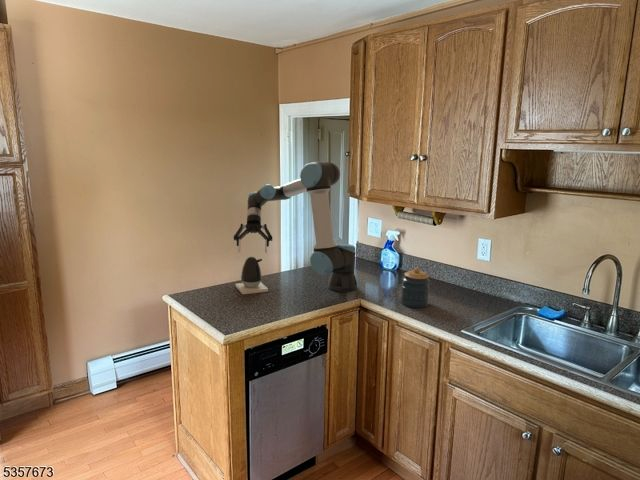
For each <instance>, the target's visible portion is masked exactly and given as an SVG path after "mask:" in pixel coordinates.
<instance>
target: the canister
mask: <svg viewBox="0 0 640 480" xmlns="http://www.w3.org/2000/svg"><path fill="white" fill-rule="evenodd" d="M429 277H430V276H429V274H428V273H426V272H425V271H422V270H421V269H420V268H419V267H414V269H411V270H408V271H406V272H404V276H403V277H402V278H401V280H402V284H401V293H400V303H401V304H402V305H404V306H405V307H408V308H413V309H414V308H416V309H422V308H425V307H428V304H429V296H430V294H429V293H430V286H429V285H430V283H431V280H430V279H429Z"/></svg>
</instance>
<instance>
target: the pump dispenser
mask: <svg viewBox="0 0 640 480" xmlns="http://www.w3.org/2000/svg"><path fill="white" fill-rule="evenodd" d="M262 261H263V259H262V258H259V259H257V258H256V257H254V256H249V257H247V258H246V259H245V262H244V264H243V266H242V270H241V273H240V274H241V275H240V280H241V283H243V284H244V286H246V287H249V288H254V287H257V286H258V285H259V284H260V282H261V283H262V279H263V277H262V271H261V266H260V264H259V263H260V262H262Z"/></svg>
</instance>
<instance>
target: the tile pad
mask: <svg viewBox="0 0 640 480" xmlns="http://www.w3.org/2000/svg"><path fill="white" fill-rule="evenodd" d="M235 288H236V289H237V291H239V292H240V294H241V295H249V294H257V293H258V294H259V293H266V292H269V289H268V287H267V286H266V285H265V284H264V283H263V282H262V281H261V282H260V284H259V285H258V286H257V287H254V288H249V287H246V286H244V284H243V283H242V282H241V283H239V282H238V283H235Z"/></svg>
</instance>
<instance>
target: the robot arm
mask: <svg viewBox="0 0 640 480" xmlns="http://www.w3.org/2000/svg"><path fill="white" fill-rule="evenodd" d="M340 179H341V170H340V168H339V166H338V165H336V164H335V163H333V162H330V161H329V162H328V161H327V162H326V161H325V162H324V161H322V162H321V161H314V162H309V163H306V164H305V165H304V166H303V168H302V169H301V171H300V174H299V179H296V180H293V181H291V182H288V183H286V184H283V185H280V186H274V185H271V184H270V183H267V184H266V183H265V185H262V187H261V188H260V189H258V190H257V191H253V192H250V193H248V198H247V210H246V211H247V213H246V224H244V223H240V226H239V228H238V229H237V231H236V233H234V236H233V241H236V247H238V248H237V249H238V250H237V251H238V253H241V242H242V241H241V240H242V239H243V238H244V237H246V236H247V235H248V234H249V233H250V234H257V233H258V235H260V236H261V237H262V238H263V239H264V240H265V242H264V244H265V245H264V253H266V254H267V247H270V242H272V241H273V236H272V234H271V232H270V230H269V229H268V226H267V224H266V223H264V224H263V225H262V207H263V206H264V205H266V204H267V203H268V202H274V201H275V202H276V201H285V200H290V199H291V198H292V197H294V196H297V195H300V194H303V193H308V194H309V196H310V204H311V211H312V220H313V227H314V238H315V245H314V246H313V253H312V254H311V256H310V258H309V263H310V266H311V268H312V270H313V272H316V274H318V275H321V276H324V275H329V274H330V277H329V280H328V282H327V283H328V284H327V288H328V289H329V290H332V291H333V292H334V291H336V292H343V293H346V292H347V293H349V292H355V291H356V290H357V288H358V282H357V279H356V275H355V270H356V269H355V268H356V266H355V265H356V254H357V252H356V251H357V249H356V246H355V245H353V244H349V243H343V242H342V243H341V242H334V236H333V235H334V234H333V225H332V217H331V208H330V199H329V192H330V191H331V186H333V185H336V184H337V183H338V181H339V180H340ZM244 229H245V230H244ZM243 230H244V231H243ZM263 230H264V231H265V233H264V231H263Z"/></svg>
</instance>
